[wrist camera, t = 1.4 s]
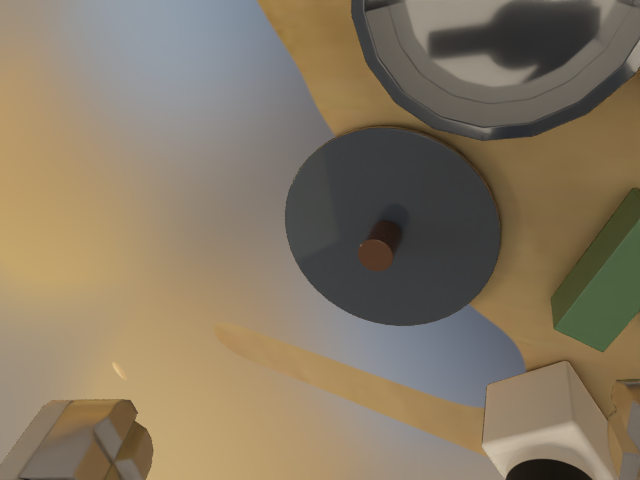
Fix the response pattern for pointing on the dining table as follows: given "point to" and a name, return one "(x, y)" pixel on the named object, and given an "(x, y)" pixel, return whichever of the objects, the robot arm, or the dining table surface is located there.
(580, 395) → the medicine bottle
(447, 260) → the lid
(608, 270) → the green bar
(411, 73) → the dark grey round container
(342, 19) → the dining table surface
